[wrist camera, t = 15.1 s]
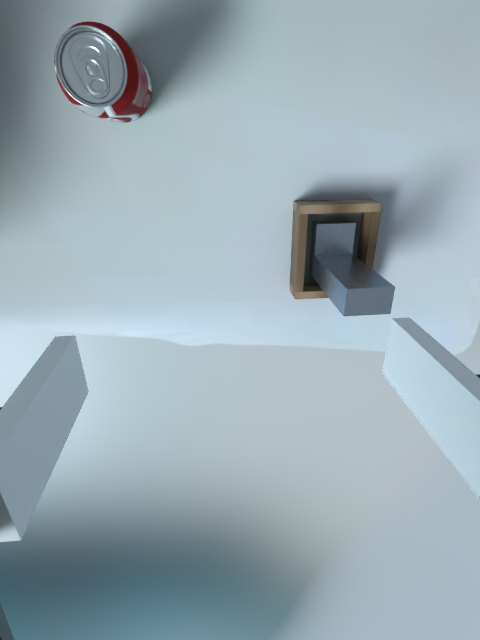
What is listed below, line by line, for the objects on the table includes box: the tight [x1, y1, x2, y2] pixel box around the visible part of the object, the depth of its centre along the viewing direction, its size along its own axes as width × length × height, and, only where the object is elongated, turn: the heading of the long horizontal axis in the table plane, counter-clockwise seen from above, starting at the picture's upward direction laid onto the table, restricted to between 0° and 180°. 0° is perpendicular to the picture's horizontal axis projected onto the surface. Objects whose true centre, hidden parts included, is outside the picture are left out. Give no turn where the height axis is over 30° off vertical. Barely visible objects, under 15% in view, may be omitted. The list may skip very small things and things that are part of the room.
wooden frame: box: [290, 199, 382, 299], centre depth 48 cm, size 10×12×4 cm
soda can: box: [54, 22, 152, 122], centre depth 35 cm, size 7×7×12 cm
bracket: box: [309, 220, 395, 316], centre depth 43 cm, size 7×5×14 cm
